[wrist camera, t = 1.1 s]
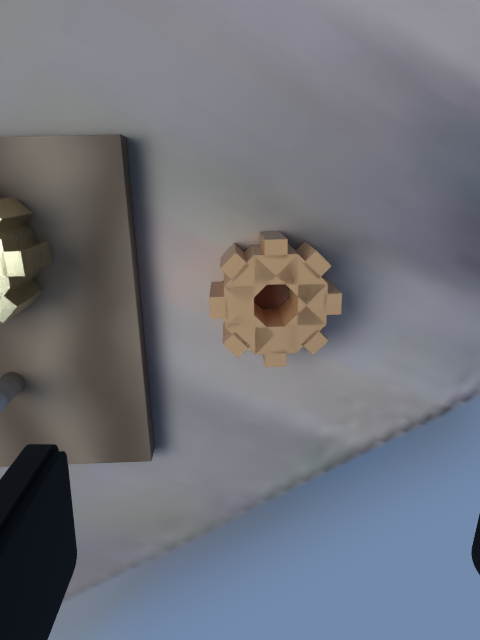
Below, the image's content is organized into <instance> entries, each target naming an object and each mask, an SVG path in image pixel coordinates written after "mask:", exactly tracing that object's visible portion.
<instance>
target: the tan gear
mask: <svg viewBox="0 0 480 640" xmlns="http://www.w3.org/2000/svg"><path fill="white" fill-rule="evenodd" d="M330 267H331V265H330V264H329V263H328V262H327V261H326V260H325V259H324V258H323V257H322V256H321V255H320V254H319V253H318V252H317V251H316V250H315V249H314V248H313V247H311V246H310V245H309V244H308V243H307V242H304V243H303V244H302V245H301V246H300V247H299V248H298V249H297V250H296V251H295V250H294V249H293V248H292V247H291V246H290V245H289V244H288V239H287V238H286V237H285V236H284V235H283V234H282V233H281V232H280V231H268V232H260V245H250V246H249V248H248V249H247V250H246V251H245V252H243V251H242V250H241V249H240V248H239V247H238V246H237V245H236V244H235V243H234V244H233V245H232V246H231V247H230V248H229V249H228V250H227V251H226V252H225V254H224V255H223V256H222V257H221V262H220V269H221V270H222V271H223V272H224V282H211V289H210V296H209V300H210V318H225V323H224V324H223V345H224V346H226V347H227V348H228V349H229V350H230V351H231V352H232V353H234V354H235V355H236V356H237V357H238V358H239V357H240V356H241V355H242V354H243V353H244V352H245V351H246V350H247V349H248V348H249V349H250V350H251V351H252V352H253V353H254V354H263V358H264V363H265V367H285V366H286V353H297V352H298V351H299V350H300V349H301V348H302V347H303V346H304V347H305V348H306V349H307V350H308V351H309V352H310V353H311V354H312V355H314V354H315V353H316V352H317V351H318V350H319V349H320V348H322V347H323V346H324V345H325V344H326V343H327V342H328V341H329V340H328V339H327V337H326V336H325V334H324V332H323V331H322V328H323V327H324V326H325V325H326V320H327V315H341V307H342V293H341V292H340V291H339V290H338V289H337V288H336V287H335V286H334V285H333V284H332V283H331V282H330V281H329V280H328V279H323V278H322V277H321V276H322V275H323V274H324V273H325V272H326V271H327V270H328V269H329V268H330ZM275 284H286V285H287V286H288V287H289V298H288V299H287V300H286V301H285V302H284V303H283V304H282V305H281V306H280V307H279V308H275V309H262V308H260V307H259V306H258V305H257V304H256V303H255V302H254V297H255V296H256V295H257V294H258V293H259V292H260V291H261V290H262V289H263V288H264V287H265V286H266V285H275Z"/></svg>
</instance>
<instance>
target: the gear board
mask: <svg viewBox="0 0 480 640" xmlns="http://www.w3.org/2000/svg"><path fill="white" fill-rule="evenodd" d="M12 197H15V198H16V199H17V200H18V201H19V202H20V203H22V204H23V205H24V206H25V207H26V208H28V209H29V210H30V211H31V212H32V213H33V214H32V215H31V216H30V217H29V219H28V220H27V221H26V222H25V225H26V226H27V227H28V228H29V229H31V230H32V231H33V237H34V241H49V245H50V252H51V258H52V263H50V264H48V265H46V266H44V267H42V268H40V269H39V274H38V275H37V276H36V277H35V278H34V281H35V282H37V283H38V284H39V285H40V286H42V287H43V288H44V289H45V290H44V291H43V292H42V293H41V294H40V296H39V297H38V298H37V299H36V300H35V302H34V303H33V304H32V305H30V306H29V307H27V308H26V309H24V310H23V311H21V312H19V313H18V314H16V315H15V316H13V317H12V318H10V319H9V320H7V321H6V322H4V323H2V322H0V467H6V466H11V465H12V463H13V462H14V461H15V459H16V458H17V457H18V455H19V454H20V453H21V451H22V450H23V449H24V447H25V446H26V445H28V444H55V445H57V447H58V449H59V451H65V452H66V454H67V460H68V464H87V463H114V462H142V461H151V460H152V457H153V453H154V449H155V446H154V435H153V424H152V413H151V402H150V391H149V381H148V370H147V359H146V348H145V337H144V326H143V315H142V305H141V294H140V283H139V272H138V261H137V250H136V239H135V229H134V218H133V207H132V196H131V185H130V174H129V163H128V152H127V142H126V137H125V136H122V135H74V136H26V137H0V199H2V198H12Z"/></svg>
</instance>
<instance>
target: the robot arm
mask: <svg viewBox="0 0 480 640" xmlns="http://www.w3.org/2000/svg"><path fill="white" fill-rule="evenodd" d="M76 559H77V547H76V537H75V528H74V518H73V509H72V499H71V489H70V480H69V470H68V460H67V454H66V452H65V451H59V449H58V447H57V445H55V444H28V445H26V446H25V447H24V449H23V450H22V451H21V453H20V454H19V455H18V457H17V458H16V459H15V461H14V462H13V463H12V465H11V466H10V467H9V469H8V470H7V471H6V473H5V474H4V475H3V477H2V478H1V479H0V640H47V639H48V637H49V634H50V632H51V629H52V626H53V624H54V621H55V619H56V616H57V613H58V611H59V608H60V606H61V603H62V601H63V598H64V595H65V593H66V590H67V588H68V585H69V582H70V580H71V577H72V575H73V572H74V569H75V565H76ZM472 560H473V563H474V566H475V568H476V569H477V571H478V573H479V574H480V515H479V519H478V524H477V528H476V532H475V537H474V541H473V546H472Z"/></svg>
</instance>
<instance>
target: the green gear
mask: <svg viewBox="0 0 480 640" xmlns="http://www.w3.org/2000/svg"><path fill="white" fill-rule="evenodd" d="M32 214H33V213H32V212H31V211H30V210H29V209H28V208H26V207H25V206H24V205H23V204H22V203H20V202H19V201H18V200H17V199H16V198H15V197H12V198H2V199H0V322H2V323H4V322H6V321H7V320H9V319H10V318H12V317H13V316H15V315H16V314H18V313H19V312H21V311H23V310H24V309H26V308H27V307H29V306H30V305H32V304H33V303H34V302H35V300H36V299H37V298H38V297H39V296H40V294H41V293H42V292H43V291H44V290H45V289H44V288H43V287H42V286H40V285H39V284H38V283H37V282H35V281H34V278H35V277H36V276H37V275H38V274H39V269H40V268H42V267H44V266H46V265H48V264H50V263H52V258H51V252H50V245H49V241H34V237H33V231H32V230H31V229H29V228H28V227H27V226H26V225H25V222H26V221H27V220H28V219H29V217H30V216H31V215H32Z"/></svg>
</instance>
